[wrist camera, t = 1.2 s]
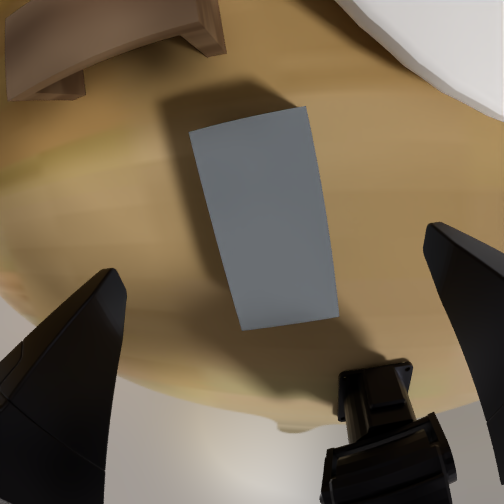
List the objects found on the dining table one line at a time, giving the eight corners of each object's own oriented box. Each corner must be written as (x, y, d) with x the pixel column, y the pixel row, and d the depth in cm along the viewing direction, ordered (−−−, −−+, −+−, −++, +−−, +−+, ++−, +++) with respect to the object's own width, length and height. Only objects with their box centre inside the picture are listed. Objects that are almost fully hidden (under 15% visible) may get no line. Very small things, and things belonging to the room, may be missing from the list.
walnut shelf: (226, 53, 17) (198, 21, 11) (73, 100, 19) (7, 101, 12) (214, -20, 15) (185, -70, 9) (66, 33, 17) (5, 18, 10)
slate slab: (331, 285, 22) (339, 316, 19) (248, 298, 23) (241, 330, 20) (301, 110, 18) (305, 106, 15) (206, 130, 19) (188, 131, 16)
